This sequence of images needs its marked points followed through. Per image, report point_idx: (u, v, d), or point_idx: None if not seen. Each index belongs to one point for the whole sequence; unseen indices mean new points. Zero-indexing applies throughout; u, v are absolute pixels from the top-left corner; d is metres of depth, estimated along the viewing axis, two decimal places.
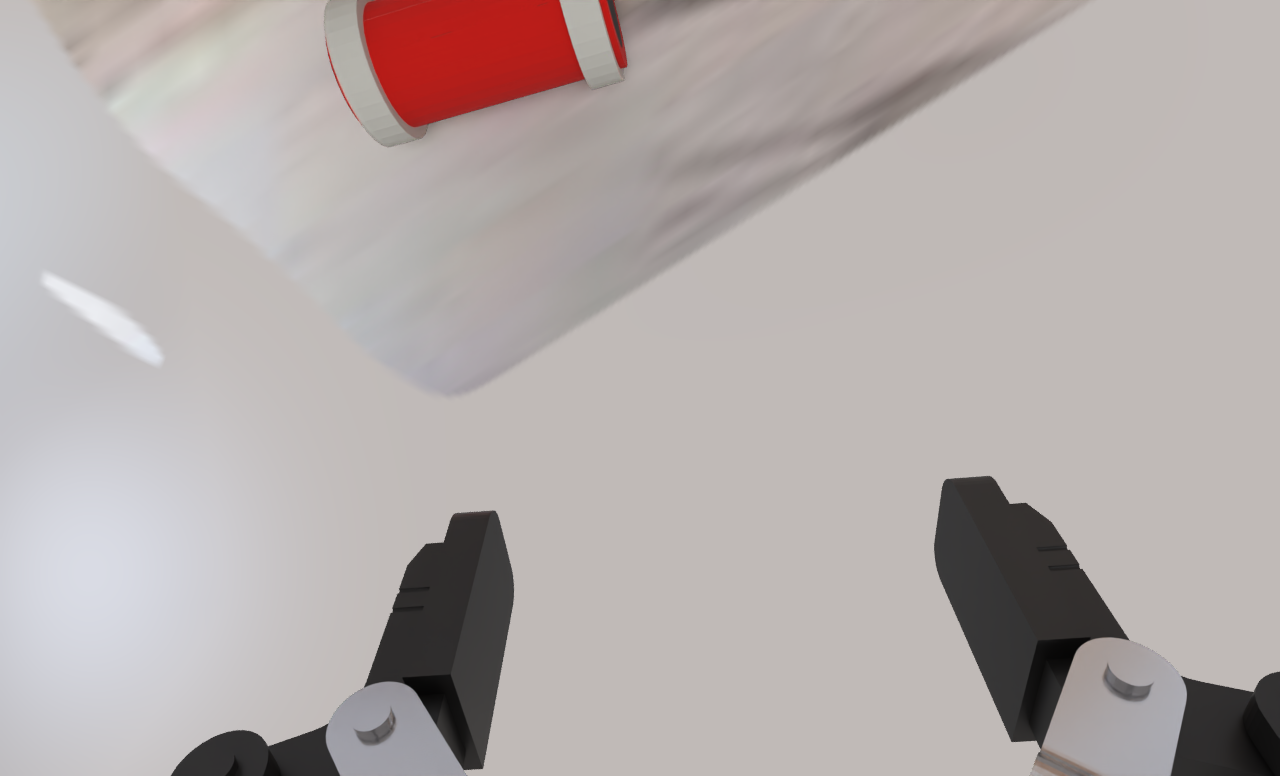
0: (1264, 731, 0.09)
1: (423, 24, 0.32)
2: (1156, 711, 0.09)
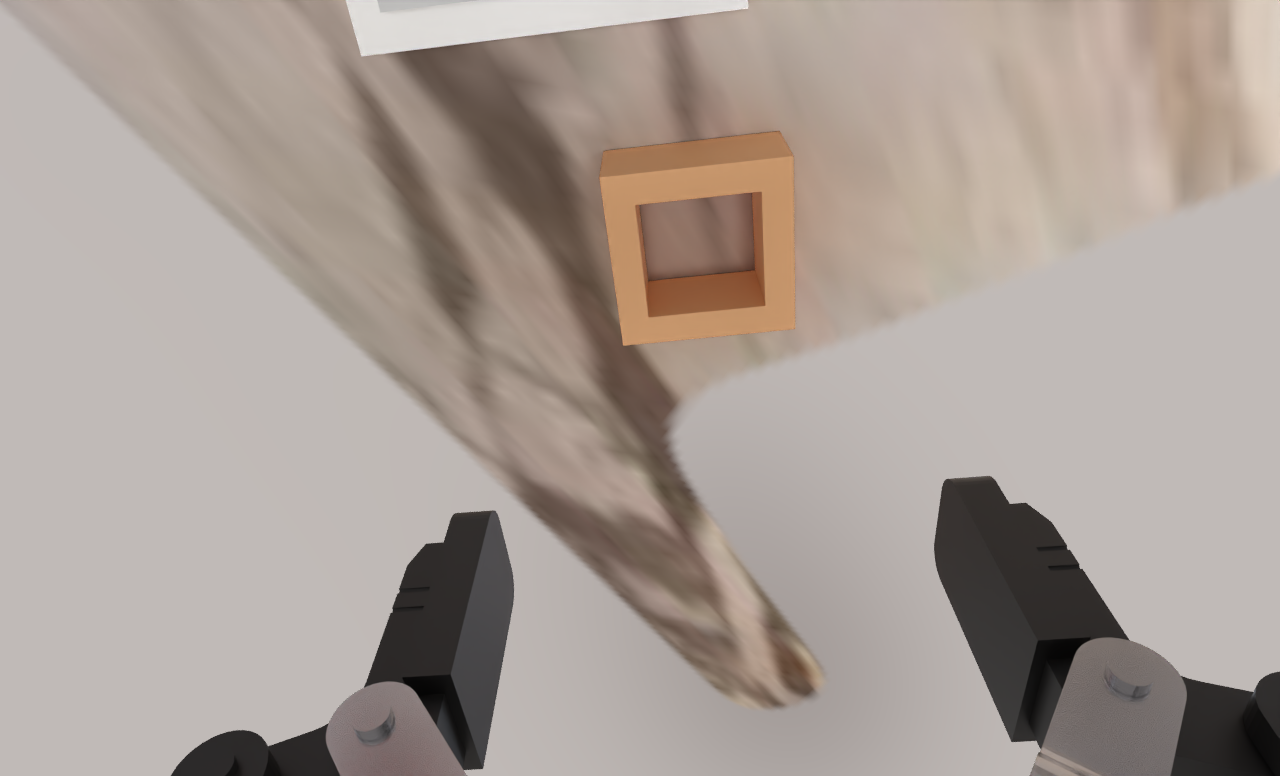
0: (1264, 731, 0.09)
1: None
2: (1156, 711, 0.09)
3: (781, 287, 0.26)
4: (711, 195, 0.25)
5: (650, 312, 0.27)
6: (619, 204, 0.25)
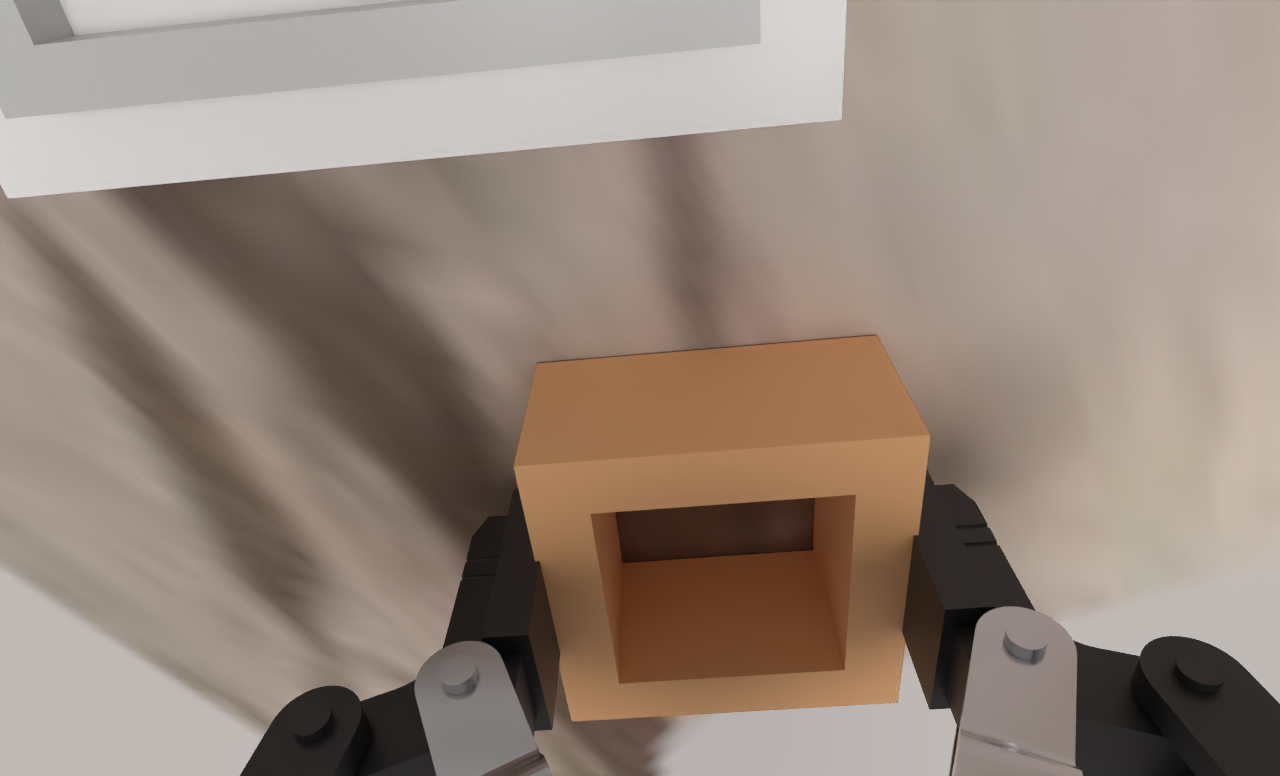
0: (1153, 699, 0.09)
1: None
2: (1046, 673, 0.10)
3: (879, 644, 0.13)
4: (750, 499, 0.12)
5: (624, 666, 0.14)
6: (558, 512, 0.12)
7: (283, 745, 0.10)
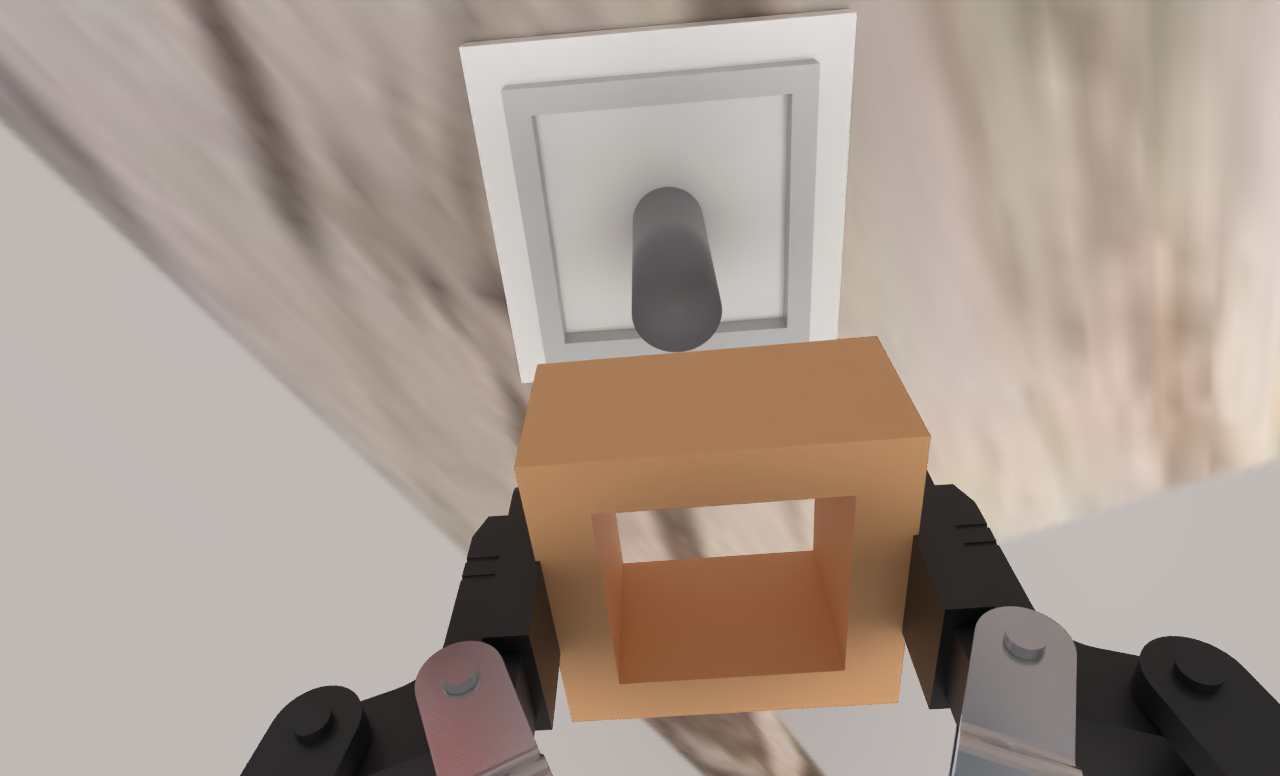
0: (1153, 699, 0.09)
1: None
2: (1046, 673, 0.10)
3: (880, 645, 0.13)
4: (750, 500, 0.12)
5: (625, 667, 0.14)
6: (558, 513, 0.12)
7: (283, 745, 0.10)
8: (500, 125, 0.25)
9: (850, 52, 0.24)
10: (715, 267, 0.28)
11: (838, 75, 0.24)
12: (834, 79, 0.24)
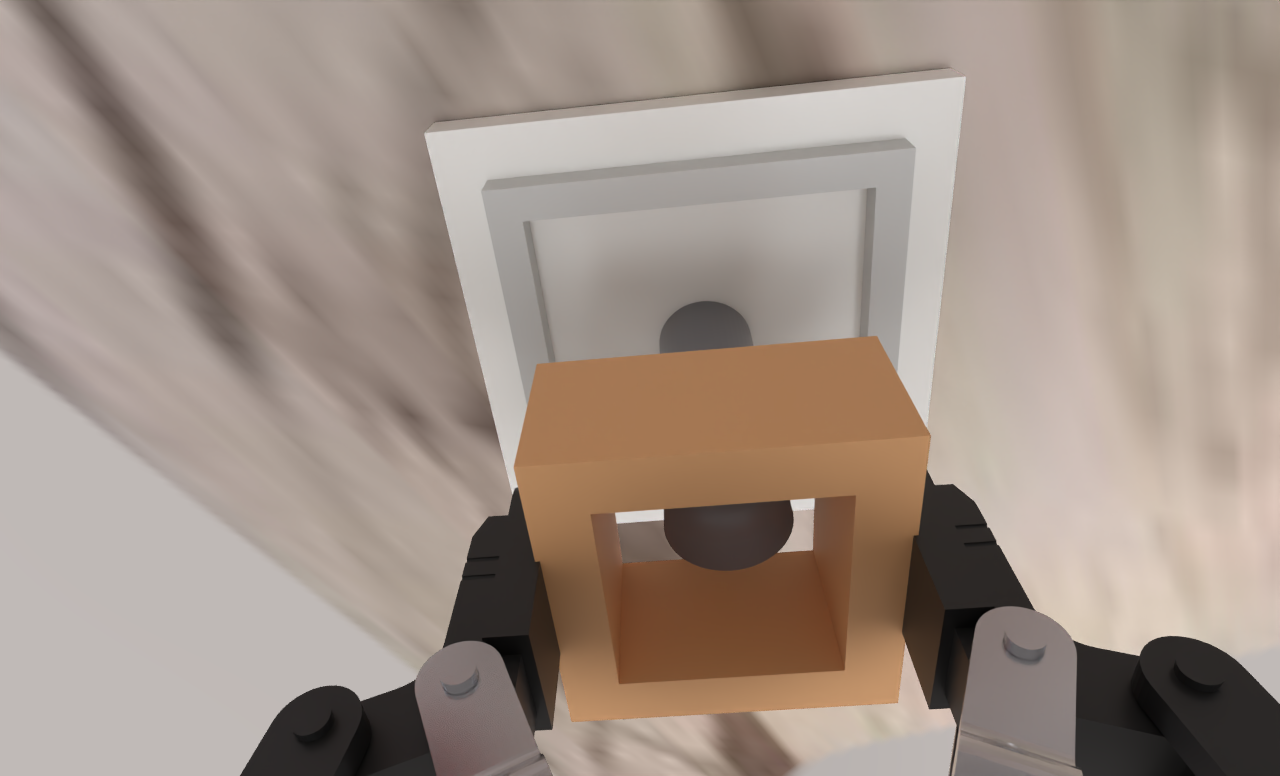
0: (1153, 699, 0.09)
1: None
2: (1046, 672, 0.10)
3: (879, 644, 0.13)
4: (750, 499, 0.12)
5: (624, 666, 0.14)
6: (558, 512, 0.12)
7: (284, 745, 0.10)
8: (483, 229, 0.19)
9: (954, 128, 0.18)
10: None
11: (937, 158, 0.18)
12: (931, 164, 0.18)
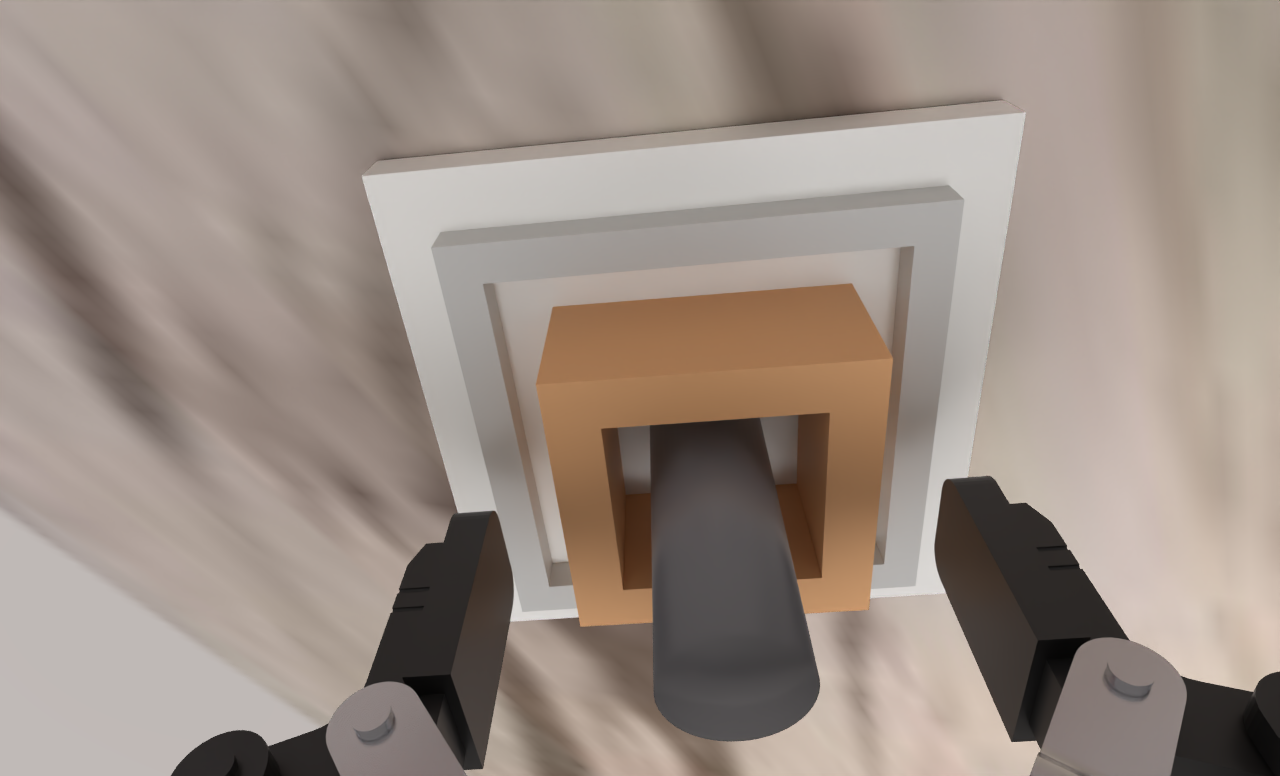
0: (1264, 731, 0.09)
1: None
2: (1156, 711, 0.09)
3: (851, 553, 0.15)
4: (739, 416, 0.14)
5: (627, 577, 0.16)
6: (573, 427, 0.14)
7: None
8: (437, 289, 0.16)
9: (1009, 174, 0.14)
10: (775, 478, 0.18)
11: (986, 209, 0.15)
12: (979, 215, 0.15)
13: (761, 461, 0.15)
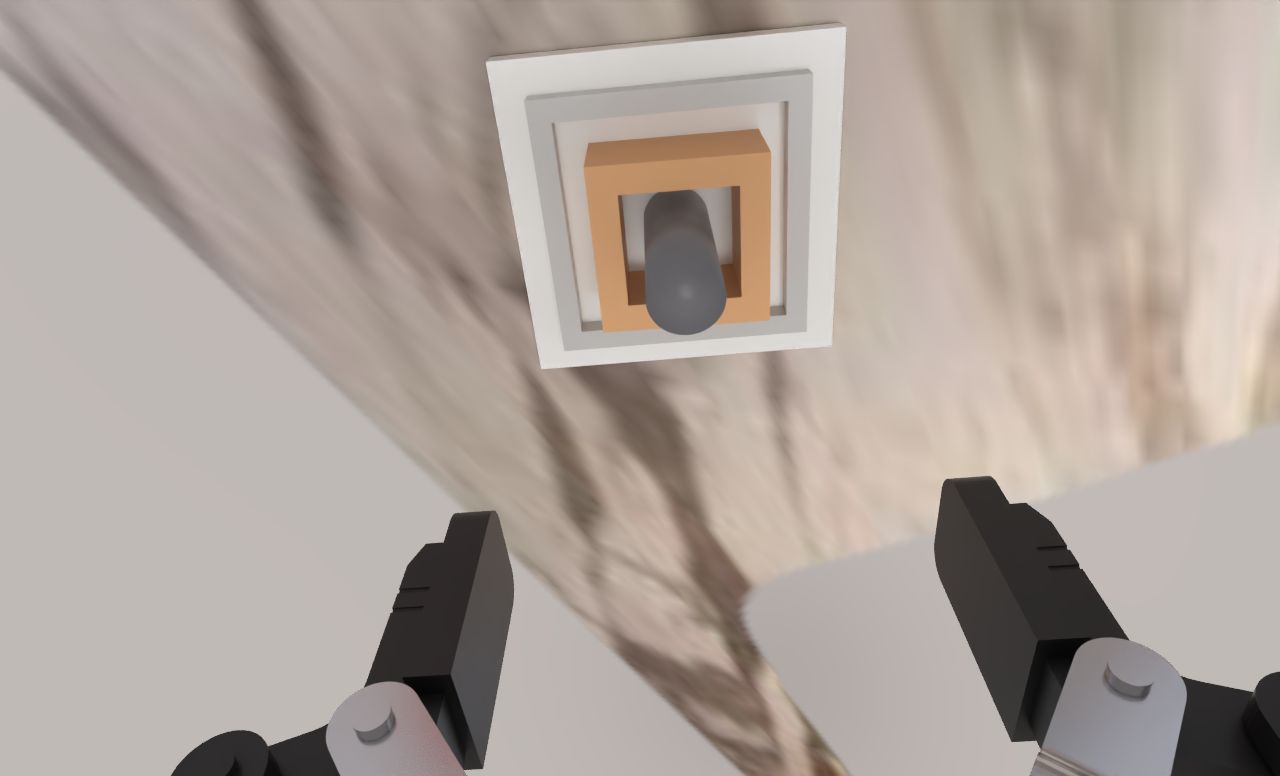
0: (1264, 731, 0.09)
1: None
2: (1156, 711, 0.09)
3: (757, 279, 0.27)
4: (691, 188, 0.25)
5: (631, 301, 0.28)
6: (602, 194, 0.26)
7: None
8: (522, 132, 0.27)
9: (841, 62, 0.26)
10: (719, 260, 0.30)
11: (830, 83, 0.27)
12: (826, 87, 0.27)
13: (705, 221, 0.26)
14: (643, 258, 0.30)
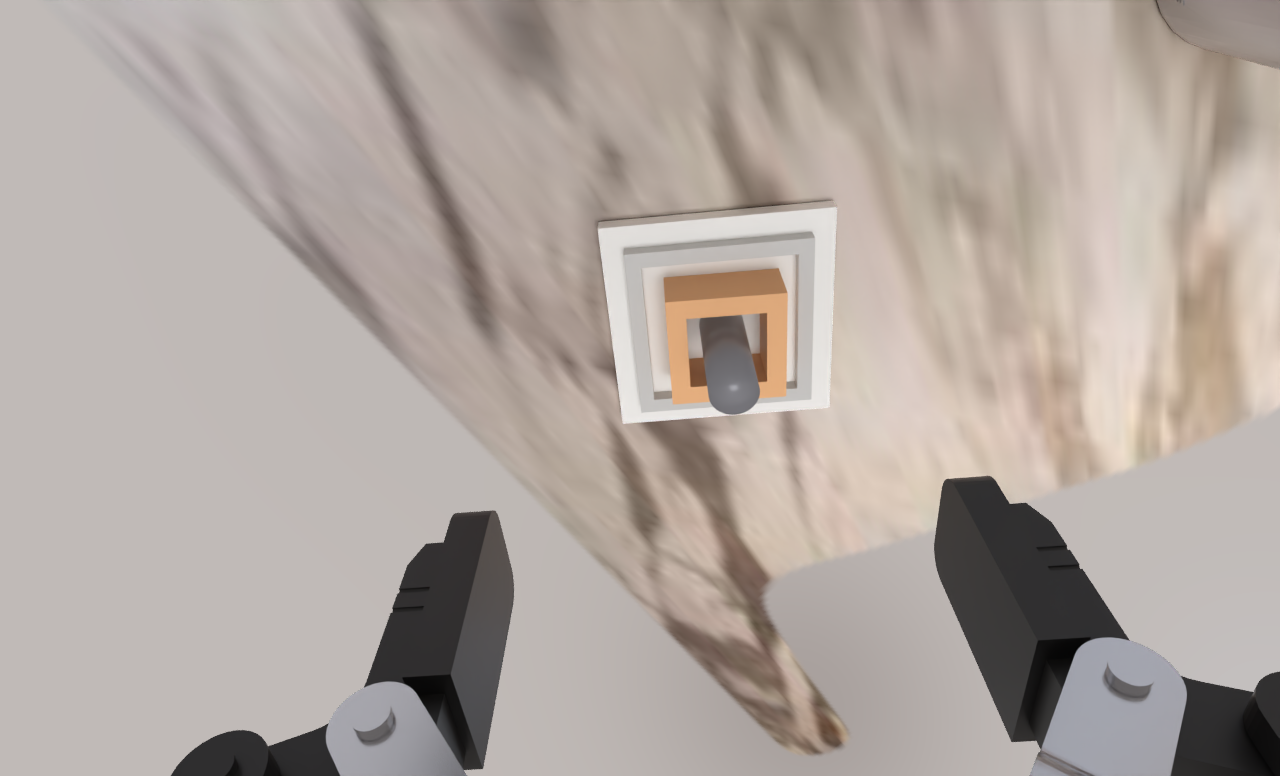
0: (1264, 731, 0.09)
1: None
2: (1156, 711, 0.09)
3: (778, 370, 0.40)
4: (735, 314, 0.39)
5: (691, 383, 0.41)
6: (676, 318, 0.39)
7: None
8: (619, 270, 0.41)
9: (833, 228, 0.40)
10: (750, 351, 0.43)
11: (826, 240, 0.40)
12: (824, 243, 0.40)
13: (743, 333, 0.40)
14: (698, 350, 0.43)
